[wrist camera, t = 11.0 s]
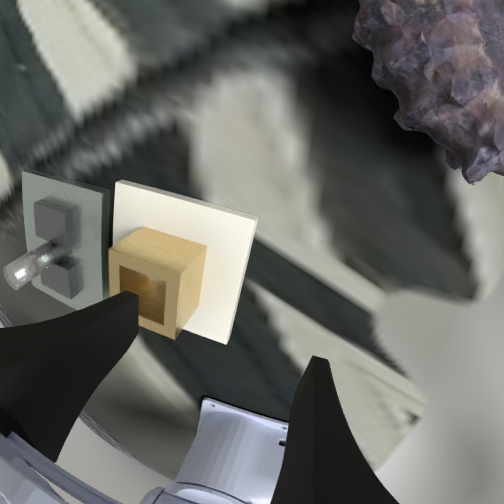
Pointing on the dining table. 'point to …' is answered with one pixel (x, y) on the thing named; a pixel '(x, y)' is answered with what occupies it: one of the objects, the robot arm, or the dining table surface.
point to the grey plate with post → (64, 239)
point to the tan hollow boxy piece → (159, 277)
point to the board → (200, 231)
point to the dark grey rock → (443, 73)
